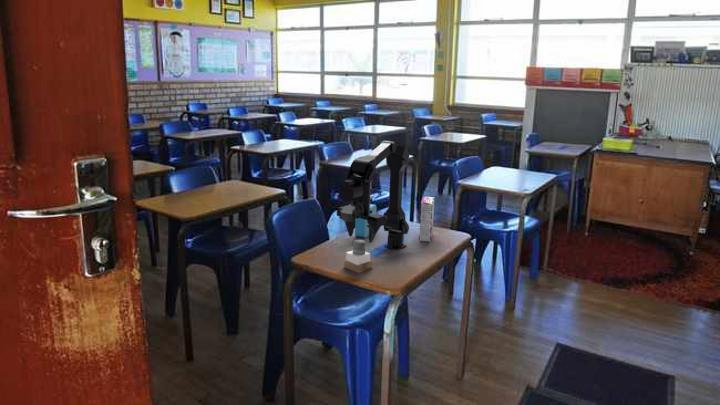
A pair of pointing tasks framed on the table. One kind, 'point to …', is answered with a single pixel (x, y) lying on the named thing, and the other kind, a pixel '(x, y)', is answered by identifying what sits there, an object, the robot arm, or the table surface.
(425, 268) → the table surface
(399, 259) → the table surface
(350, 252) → the top block
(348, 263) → the bottom block
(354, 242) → the spool
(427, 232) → the candy bar box
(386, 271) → the table surface
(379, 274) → the table surface
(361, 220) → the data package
